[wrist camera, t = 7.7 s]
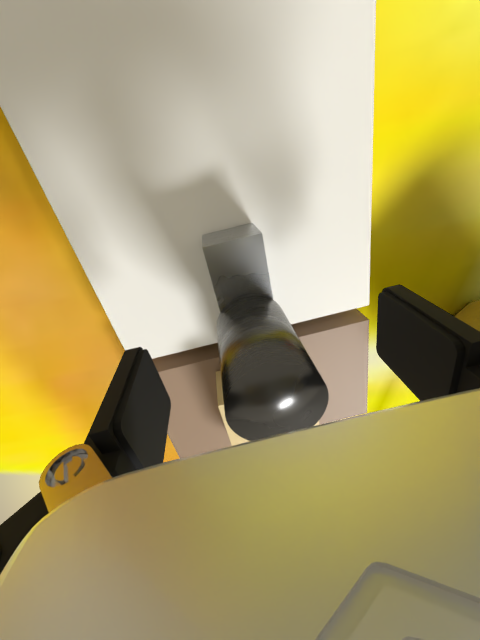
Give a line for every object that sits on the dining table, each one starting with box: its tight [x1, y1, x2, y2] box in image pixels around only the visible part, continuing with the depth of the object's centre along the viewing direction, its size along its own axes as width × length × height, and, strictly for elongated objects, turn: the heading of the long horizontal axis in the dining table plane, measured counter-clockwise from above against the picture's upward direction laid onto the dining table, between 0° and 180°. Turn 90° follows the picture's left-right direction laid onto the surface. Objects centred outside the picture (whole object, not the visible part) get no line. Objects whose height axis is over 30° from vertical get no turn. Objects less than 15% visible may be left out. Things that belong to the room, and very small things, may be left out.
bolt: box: [202, 223, 329, 441], centre depth 13 cm, size 3×12×7 cm, turn 12°
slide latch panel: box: [0, 0, 376, 458], centre depth 14 cm, size 14×27×6 cm, turn 12°
